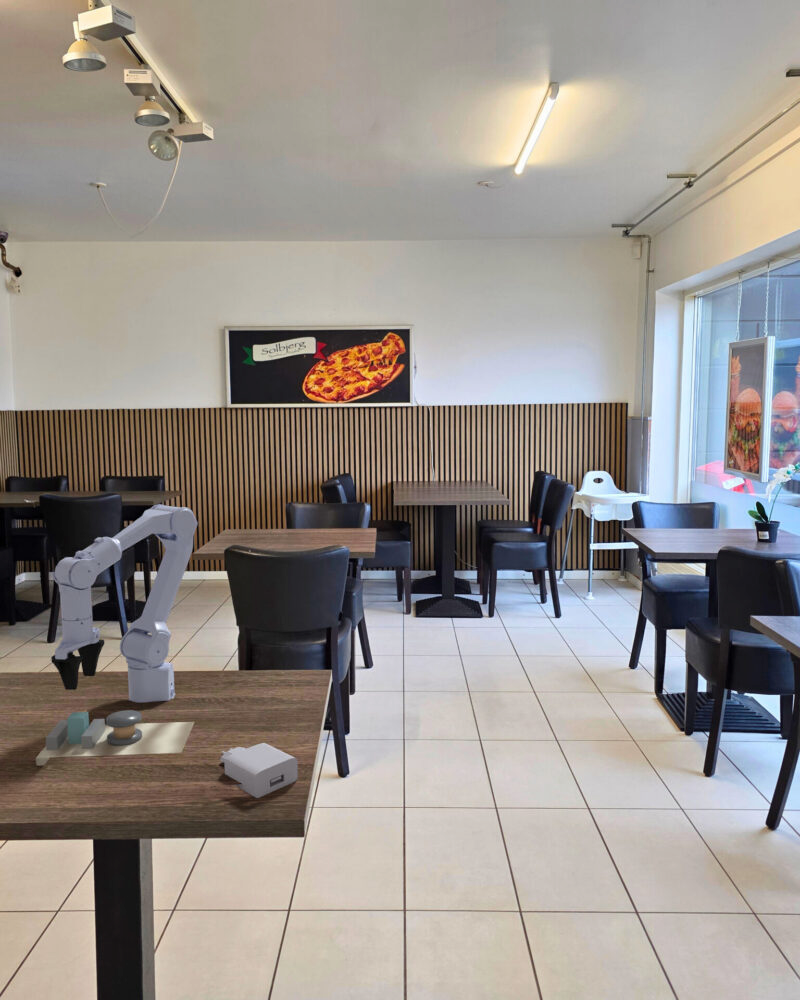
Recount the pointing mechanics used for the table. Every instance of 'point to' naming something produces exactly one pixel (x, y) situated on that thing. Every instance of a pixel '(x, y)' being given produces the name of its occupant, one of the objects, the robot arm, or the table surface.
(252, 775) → the charger
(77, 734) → the peg
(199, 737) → the table surface
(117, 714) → the bobbin
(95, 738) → the gray parallel rails
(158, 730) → the board
